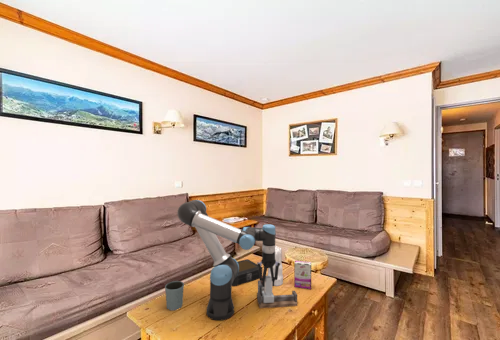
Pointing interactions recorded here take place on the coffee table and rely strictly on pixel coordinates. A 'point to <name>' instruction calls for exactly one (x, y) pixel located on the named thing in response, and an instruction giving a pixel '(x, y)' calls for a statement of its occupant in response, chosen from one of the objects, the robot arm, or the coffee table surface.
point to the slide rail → (279, 300)
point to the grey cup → (174, 295)
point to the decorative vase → (280, 277)
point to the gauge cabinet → (260, 287)
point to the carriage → (268, 291)
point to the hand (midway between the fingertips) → (268, 291)
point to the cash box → (246, 272)
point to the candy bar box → (302, 274)
